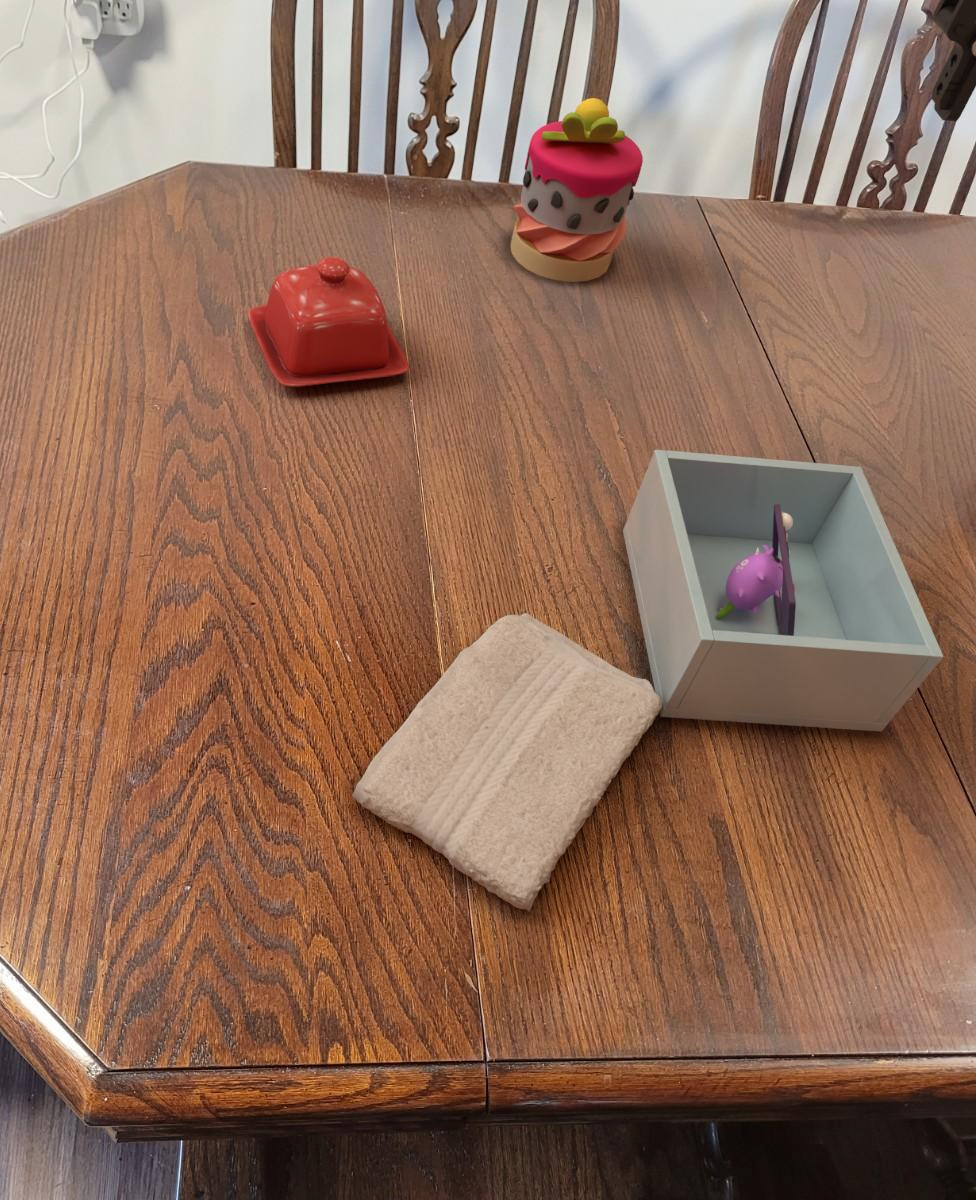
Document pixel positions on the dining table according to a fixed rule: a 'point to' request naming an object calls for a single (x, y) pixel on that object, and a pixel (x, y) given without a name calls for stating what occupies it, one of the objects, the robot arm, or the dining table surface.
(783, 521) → the pink dragon fruit
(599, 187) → the cake
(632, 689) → the washcloth
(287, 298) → the butter dish
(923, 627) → the open box
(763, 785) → the dining table surface
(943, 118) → the robot arm
